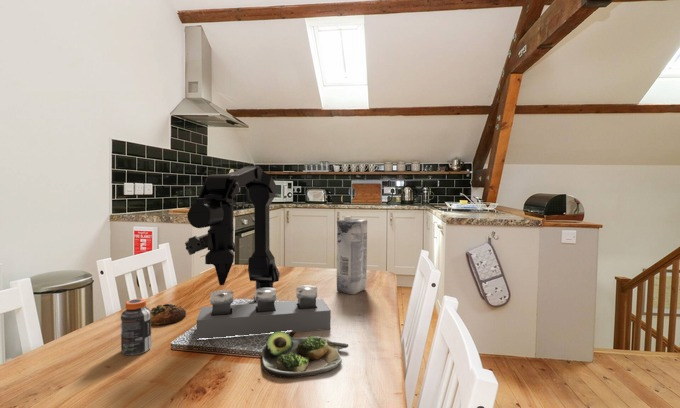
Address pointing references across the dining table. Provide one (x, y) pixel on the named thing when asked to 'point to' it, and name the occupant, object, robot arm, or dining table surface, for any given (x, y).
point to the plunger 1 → (221, 302)
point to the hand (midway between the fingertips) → (221, 284)
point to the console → (263, 319)
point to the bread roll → (166, 314)
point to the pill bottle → (135, 328)
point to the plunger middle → (265, 299)
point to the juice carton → (351, 255)
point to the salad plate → (298, 355)
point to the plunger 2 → (306, 296)
